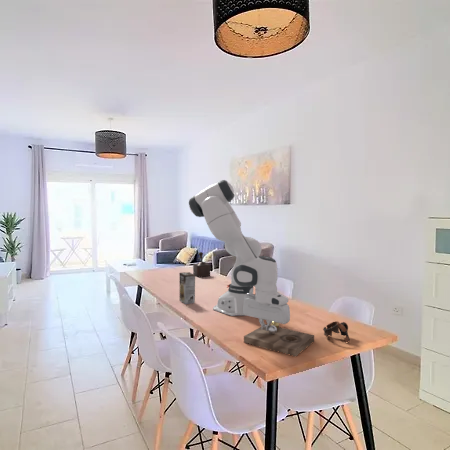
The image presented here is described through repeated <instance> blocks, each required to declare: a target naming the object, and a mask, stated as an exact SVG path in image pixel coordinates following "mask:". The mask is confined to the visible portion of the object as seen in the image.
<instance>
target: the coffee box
mask: <svg viewBox="0 0 450 450" xmlns="http://www.w3.org/2000/svg"><path fill="white" fill-rule="evenodd" d="M179 301H180V302H181V303H183V304H184V305H188V304H195V302H196V276H195V275H194V274H193V273H192V272H189V271H186V272H179Z"/></svg>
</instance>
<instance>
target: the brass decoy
mask: <svg viewBox="0 0 450 450" xmlns="http://www.w3.org/2000/svg"><path fill="white" fill-rule="evenodd" d="M270 325H274V326H275V327H276V328H278V327H280V323H277V322H272V323H271V324H270Z"/></svg>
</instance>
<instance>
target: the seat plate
mask: <svg viewBox="0 0 450 450" xmlns="http://www.w3.org/2000/svg"><path fill="white" fill-rule="evenodd" d="M265 325H267V323H265ZM270 326H271V324H270ZM270 326H269V327H270ZM244 342H245V344H248V343H249V344H248V345H251V344H252V346H256V347H259V346H260V347H259V348H262V347H263V349H266V348H267V349H266V350H269V349H271V350H270V351H273V350H275V351H274V352H277V351H279V352H278V353H280V352H283V353H282V354H284V353H286V354H285V355H287V354H290V355H289V356H291V355H293V356H292V357H295V356H296V357H297V356H298V354H299V353H300V352H301V351H302V350H303V351H305V350H306V349H307V348H308V347H310V346H311V345H312V344H313V343H314V342H315V334H311V333H305V332H301V331H298V330H293V329H288V328H285V327H284V328H283V327H280V326H279V327H278V328H277V332H276V333H275V334H270V333H269V331H266V330H262V329H261V326H259V327H258V328H256V329H254V330H253V331H250V332H248V334H246V335H244V336H243V343H244ZM312 342H313V343H312ZM311 343H312V344H311ZM307 346H308V347H307ZM306 347H307V348H306ZM305 348H306V349H305ZM303 351H302V352H303ZM302 352H301V353H302ZM301 353H300V354H301Z"/></svg>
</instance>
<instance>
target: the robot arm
mask: <svg viewBox="0 0 450 450" xmlns="http://www.w3.org/2000/svg"><path fill="white" fill-rule="evenodd" d="M234 198H235V190H234V186H233V185H232V184H231V183H230V182H228V181H227V180H225V179H222V180H219V181H217V182H215V183H213V184H211V185H209V186H207V187H205V189H202V190H201V191H198V193H196V194H195V195H193V196H192V197H190V198H189V199H188V206H189V210H190V211H191V213H192V214H193V215H194V216H195V217H197V218H204V220H205V223H206V225H207V227H208V229H209V230H210V232H211V234H212V235H213V236H214V237H215V238H216V240H219V241H221V242H224V249H225V251H226V252H227V253H228V254H229V255H231V256H232V257H233V256H234V257H236V258H235V262H234V265H233V267H232V268H231V271H230V272H231V274H230V281H231V283H230V284H228V285H226V288H228V289H227V291H225V292H224V293H223V294H221V295H220V296H219V298H218V299H217V303H216V305H214V306H213V307H212V311H215V312H218V313H221V314H225V315H228V316H231V317H234V316H235V317H236V316H246V317H247V316H248V317H250V318H251V317H252V318H257V319H258V322H259V324H260V327H261V329H262V330H266V331H268V328H269V326H270V325H271V323H272V322H277V323H279V324H282V325H286V324H288V323H289V322H290V321H291V310H290V305H289V304H288V303H289V298H288V297H287V296H286V295H283V294H282V293H280V292H279V291H278V286H277V282H278V276H279V275H278V274H279V273H278V263H277V260H276V259H275V258H273V257H271V256H267V255H266V256H265V255H261V253H262V245H261V242H260V241H258V240H256V238H253V237H251V236H250V237H249V236H245V235H244V234H243V231H242V227H241V226H242V223H241V220H240V219H239V217H238V216H237V214H236V212H235V210H234V208H233V207H232V205H231V204H230V203H231V201H232V200H234ZM254 289H255V290H254ZM254 291H255V293H254ZM265 321H266V323H265ZM265 324H267V325H265Z"/></svg>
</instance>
